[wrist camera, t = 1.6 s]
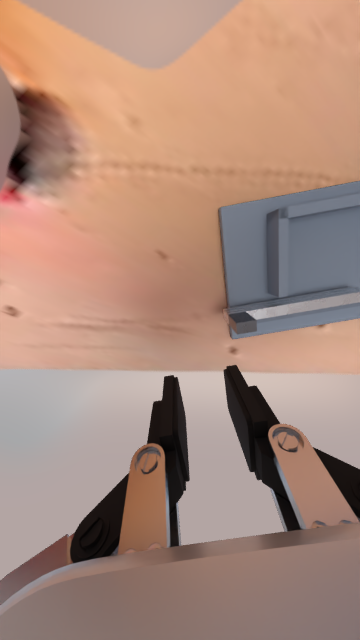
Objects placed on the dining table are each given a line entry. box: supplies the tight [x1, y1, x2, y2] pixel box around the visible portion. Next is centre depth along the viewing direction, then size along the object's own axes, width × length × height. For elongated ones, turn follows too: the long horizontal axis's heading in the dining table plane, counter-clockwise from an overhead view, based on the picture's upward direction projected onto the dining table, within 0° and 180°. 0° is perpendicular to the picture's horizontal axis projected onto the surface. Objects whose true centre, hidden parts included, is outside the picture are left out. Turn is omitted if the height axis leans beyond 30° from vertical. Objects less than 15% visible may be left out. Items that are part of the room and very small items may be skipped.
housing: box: [219, 181, 360, 339], centre depth 22 cm, size 22×16×4 cm
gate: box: [223, 287, 360, 335], centre depth 21 cm, size 16×1×6 cm, turn 100°
